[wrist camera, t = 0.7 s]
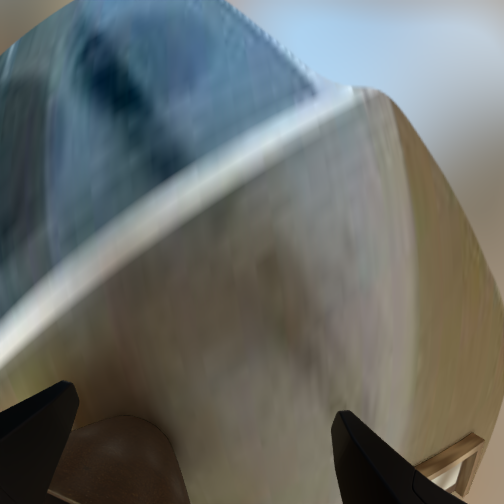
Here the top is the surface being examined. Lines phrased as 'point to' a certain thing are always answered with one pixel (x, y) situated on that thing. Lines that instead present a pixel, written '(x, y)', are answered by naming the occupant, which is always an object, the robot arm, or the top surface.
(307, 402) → the top surface
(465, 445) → the arena
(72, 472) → the plant pot
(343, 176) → the top surface
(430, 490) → the robot arm
